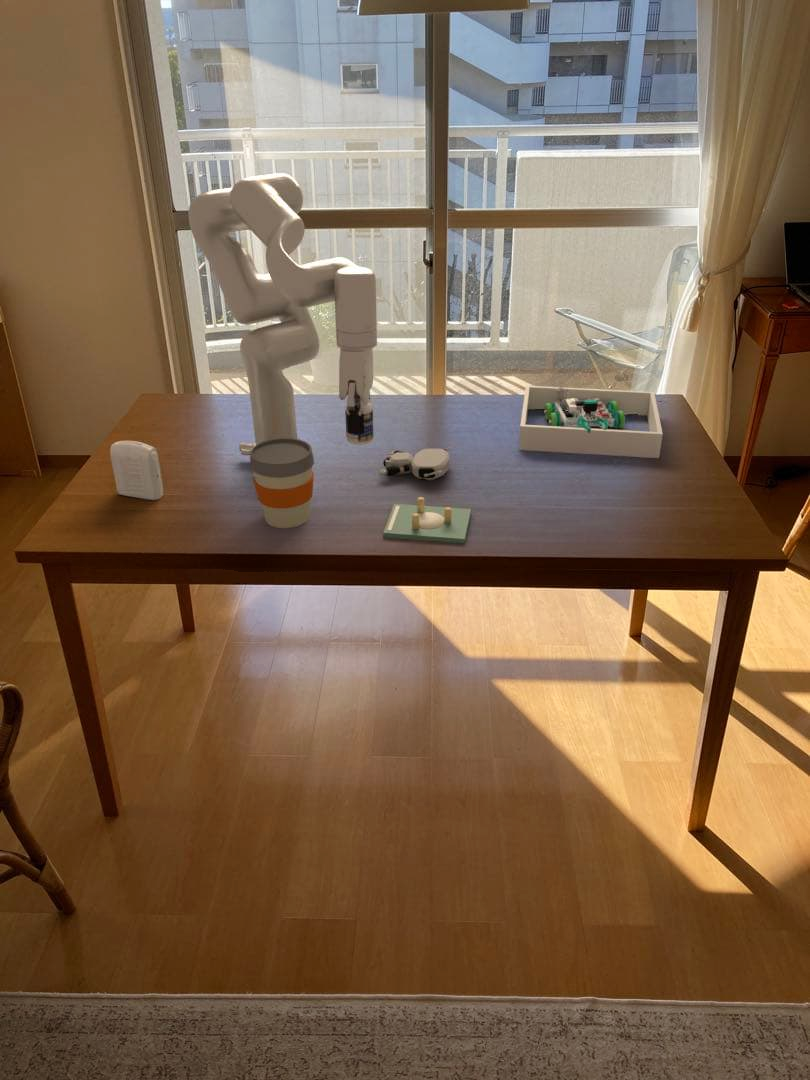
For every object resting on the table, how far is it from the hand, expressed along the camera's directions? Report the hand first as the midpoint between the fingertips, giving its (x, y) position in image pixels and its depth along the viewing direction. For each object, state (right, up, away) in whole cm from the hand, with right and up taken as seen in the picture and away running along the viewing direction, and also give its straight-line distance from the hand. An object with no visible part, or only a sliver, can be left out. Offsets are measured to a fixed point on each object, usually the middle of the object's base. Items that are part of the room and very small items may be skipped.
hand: (359, 425), depth 171 cm
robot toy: (+11, -8, +24) cm, 28 cm away
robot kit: (+53, +4, +42) cm, 68 cm away
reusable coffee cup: (-15, -18, +8) cm, 25 cm away
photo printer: (-48, -13, +17) cm, 52 cm away
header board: (+14, -19, +4) cm, 24 cm away
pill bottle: (0, -3, +2) cm, 3 cm away
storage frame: (+54, +4, +42) cm, 68 cm away
